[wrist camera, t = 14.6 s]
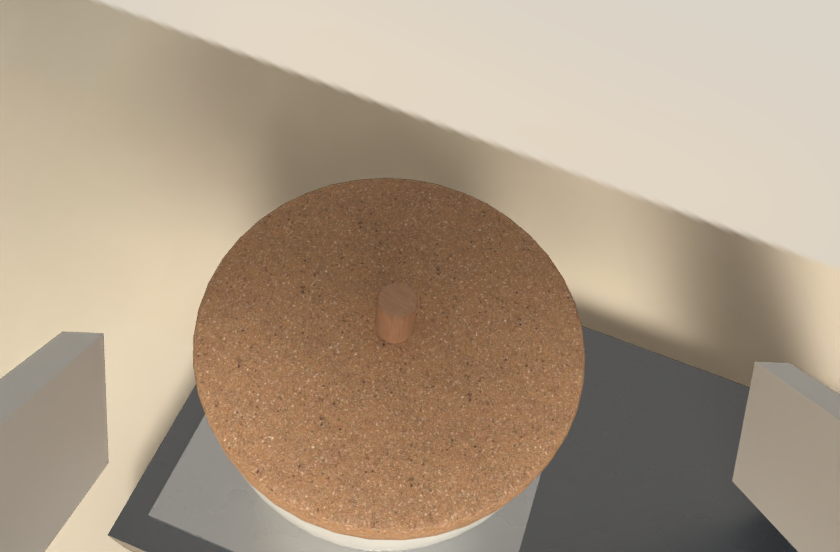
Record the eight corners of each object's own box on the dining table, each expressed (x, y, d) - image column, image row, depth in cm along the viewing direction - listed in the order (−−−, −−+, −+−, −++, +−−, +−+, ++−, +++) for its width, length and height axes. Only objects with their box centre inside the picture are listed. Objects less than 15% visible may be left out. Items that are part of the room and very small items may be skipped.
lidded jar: (345, 252, 30) (345, 85, 22) (574, 387, 28) (668, 256, 20) (166, 465, 25) (80, 350, 17) (429, 652, 23) (476, 622, 15)
